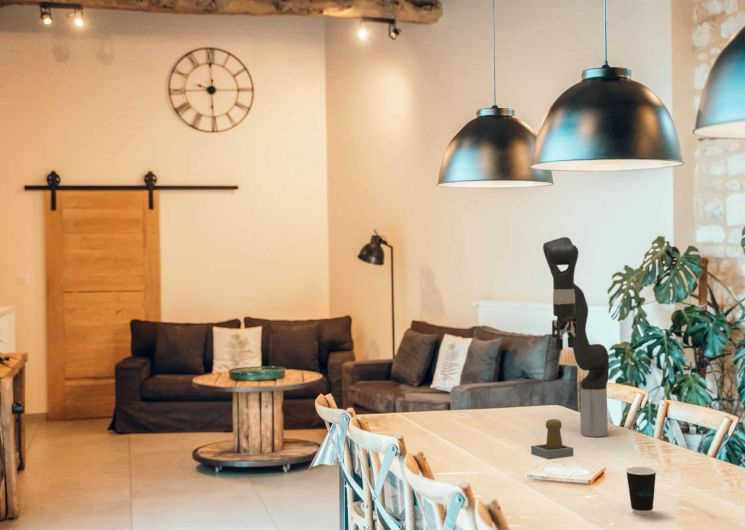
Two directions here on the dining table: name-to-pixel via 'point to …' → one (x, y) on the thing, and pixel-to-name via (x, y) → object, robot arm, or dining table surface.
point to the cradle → (551, 451)
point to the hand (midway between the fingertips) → (565, 348)
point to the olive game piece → (553, 434)
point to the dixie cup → (641, 488)
